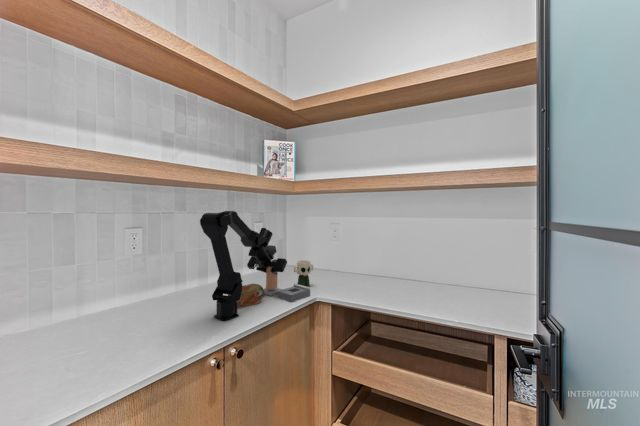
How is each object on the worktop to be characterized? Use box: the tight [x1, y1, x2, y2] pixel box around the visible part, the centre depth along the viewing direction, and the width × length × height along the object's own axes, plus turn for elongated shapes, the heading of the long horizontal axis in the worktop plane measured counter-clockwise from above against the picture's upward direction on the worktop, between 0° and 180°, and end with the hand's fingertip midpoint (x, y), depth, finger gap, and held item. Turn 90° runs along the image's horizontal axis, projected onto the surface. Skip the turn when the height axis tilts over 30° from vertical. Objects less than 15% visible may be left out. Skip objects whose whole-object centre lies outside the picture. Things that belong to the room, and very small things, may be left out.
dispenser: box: [276, 283, 311, 303], centre depth 125 cm, size 12×9×4 cm
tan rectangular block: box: [265, 267, 279, 290], centre depth 131 cm, size 4×4×12 cm
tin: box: [227, 283, 265, 309], centre depth 113 cm, size 15×3×8 cm, turn 129°
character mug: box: [293, 260, 314, 287], centre depth 141 cm, size 11×7×13 cm, turn 118°
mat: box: [263, 287, 284, 297], centre depth 131 cm, size 9×9×1 cm
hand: (273, 273), depth 133 cm, fingers closed on tan rectangular block, 3 cm apart
